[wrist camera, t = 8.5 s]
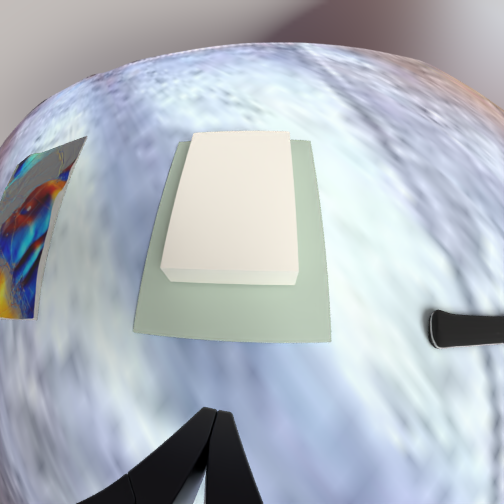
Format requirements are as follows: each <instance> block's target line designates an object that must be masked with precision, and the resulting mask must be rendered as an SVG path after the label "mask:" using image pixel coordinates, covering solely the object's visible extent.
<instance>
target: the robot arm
mask: <svg viewBox="0 0 504 504" xmlns="http://www.w3.org/2000/svg"><path fill="white" fill-rule="evenodd" d="M205 472H206V477H205V493H204V504H263V501H262V499H261V496H260V493H259V491H258V488H257V485H256V483H255V480H254V477H253V474H252V472H251V469H250V466H249V463H248V460H247V457H246V454H245V451H244V448H243V445H242V442H241V439H240V436H239V433H238V430H237V427H236V424H235V421H234V417H233V414H232V413H231V412H227V411H222V410H219V411H218V412H217V410H216V409H212V408H208V407H203V408H202V409H201V410H199V411H198V412H197V413H196V414H195V415H194V416H193V417H192V418H191V419H190V420H189V421H188V422H187V423H185V424H184V425H183V426H182V427H181V428H180V429H179V430H178V431H177V432H175V433H174V434H173V435H172V436H171V437H170V438H169V439H167V440H166V441H165V442H164V443H163V444H162V445H160V446H159V447H158V448H157V449H156V450H155V451H153V452H152V453H151V454H150V455H149V456H147V457H146V458H145V459H144V460H143V461H141V462H140V463H139V464H138V465H136V466H135V467H134V468H133V469H131V470H130V471H129V472H128V474H125V475H123V476H122V477H121V478H120V479H118V480H117V481H115V482H114V483H113V484H111V485H110V486H108V487H107V488H105V489H104V490H102V491H100V492H98V493H97V494H95V495H93V496H91V497H89V498H87V499H85V500H83V501H81V502H79V503H77V504H193V502H194V500H195V497H196V495H197V492H198V490H199V488H200V485H201V483H202V480H203V477H204V475H205Z"/></svg>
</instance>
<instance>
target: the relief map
mask: <svg viewBox="0 0 504 504" xmlns="http://www.w3.org/2000/svg"><path fill="white" fill-rule="evenodd" d="M86 139H87V136H86V137H83V138H80V139H77V140H74V141H72V142H69V143H66V144H64V145H61V146H58V147H56V148H53V149H51V150H48V151H45V152H42V153H35V154H31V155H29V156H28V157H27V158H25V159H24V160H23V161H22V162H21V163H20V164H18V165H17V167H16V169H15V171H14V173H13V175H12V177H11V179H10V181H9V183H8V185H7V187H6V188H5V191H4V194H3V196H2V199H1V201H0V320H37V316H38V308H39V300H40V293H41V286H42V280H43V275H44V269H45V264H46V260H47V255H48V251H49V246H50V242H51V238H52V234H53V230H54V227H55V223H56V220H57V216H58V213H59V210H60V207H61V203H62V200H63V197H64V194H65V191H66V189H67V186H68V183H69V180H70V178H71V175H72V172H73V170H74V167H75V165H76V162H77V160H78V158H79V155H80V153H81V151H82V148H83V146H84V144H85V142H86Z"/></svg>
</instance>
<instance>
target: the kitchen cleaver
mask: <svg viewBox="0 0 504 504" xmlns="http://www.w3.org/2000/svg"><path fill="white" fill-rule="evenodd" d="M428 334H429V339H430V342H431V343H432V345H433V346H434V347H435V348H437V349H445V348H454V347H471V346H484V345H498V344H504V316H503V317H492V316H468V315H456V314H450V313H447V312H444V311H441V310H436V311H434V312H433V313H432V315H431V316H430V319H429V326H428Z"/></svg>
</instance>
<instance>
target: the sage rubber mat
mask: <svg viewBox="0 0 504 504" xmlns="http://www.w3.org/2000/svg"><path fill="white" fill-rule="evenodd" d="M190 144H191V141H188V142H179V144H178V147H177V150H176V153H175V156H174V159H173V162H172V165H171V168H170V172H169V175H168V178H167V181H166V185H165V188H164V191H163V195H162V198H161V202H160V205H159V209H158V213H157V217H156V220H155V224H154V228H153V232H152V236H151V240H150V245H149V249H148V253H147V258H146V262H145V267H144V272H143V277H142V282H141V287H140V292H139V298H138V303H137V309H136V315H135V322H134V328H133V332H135V333H142V334H149V335H158V336H167V337H177V338H187V339H199V340H213V341H231V342H256V343H320V342H331V321H330V302H329V287H328V274H327V262H326V251H325V241H324V232H323V223H322V215H321V207H320V199H319V192H318V185H317V178H316V171H315V165H314V159H313V153H312V147H311V141H303V140H290V144H291V154H292V166H293V178H294V191H295V206H296V222H297V241H298V263H299V273H298V276H297V279H296V283H295V285H249V284H216V283H190V282H171V281H170V280H169V279H168V278H167V276H166V275H165V274H164V272H163V271H162V270H161V268H160V266H161V261H162V256H163V251H164V246H165V241H166V236H167V232H168V227H169V223H170V219H171V214H172V210H173V206H174V202H175V198H176V194H177V190H178V186H179V182H180V179H181V175H182V171H183V168H184V164H185V161H186V157H187V154H188V150H189V147H190Z"/></svg>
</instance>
